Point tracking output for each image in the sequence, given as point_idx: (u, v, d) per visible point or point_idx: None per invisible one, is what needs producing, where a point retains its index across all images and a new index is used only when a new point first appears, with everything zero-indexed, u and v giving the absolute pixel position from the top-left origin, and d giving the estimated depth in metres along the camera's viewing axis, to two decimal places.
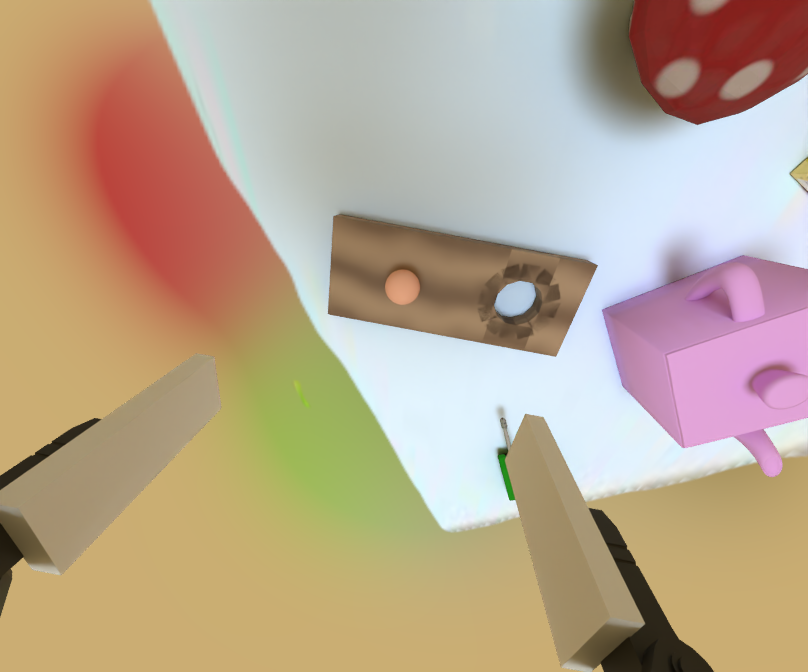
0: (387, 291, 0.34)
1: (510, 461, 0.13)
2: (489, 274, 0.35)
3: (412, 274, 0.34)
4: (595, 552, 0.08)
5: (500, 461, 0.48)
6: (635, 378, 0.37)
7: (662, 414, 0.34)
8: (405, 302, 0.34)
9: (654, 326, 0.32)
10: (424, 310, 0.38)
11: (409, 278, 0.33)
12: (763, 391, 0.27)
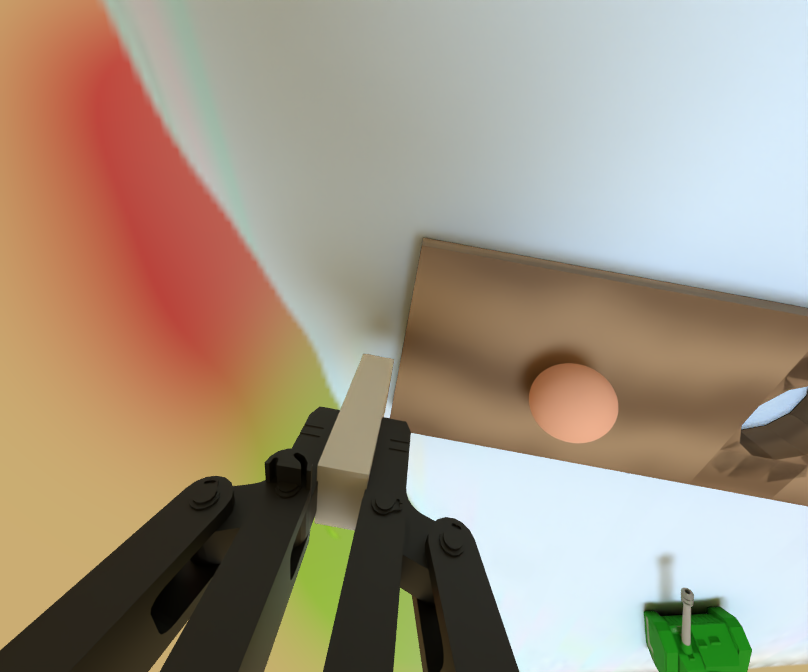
0: (545, 418, 0.15)
1: None
2: (756, 370, 0.16)
3: (606, 381, 0.14)
4: (363, 437, 0.10)
5: (661, 636, 0.29)
6: None
7: None
8: (585, 442, 0.15)
9: None
10: None
11: (607, 395, 0.14)
12: None
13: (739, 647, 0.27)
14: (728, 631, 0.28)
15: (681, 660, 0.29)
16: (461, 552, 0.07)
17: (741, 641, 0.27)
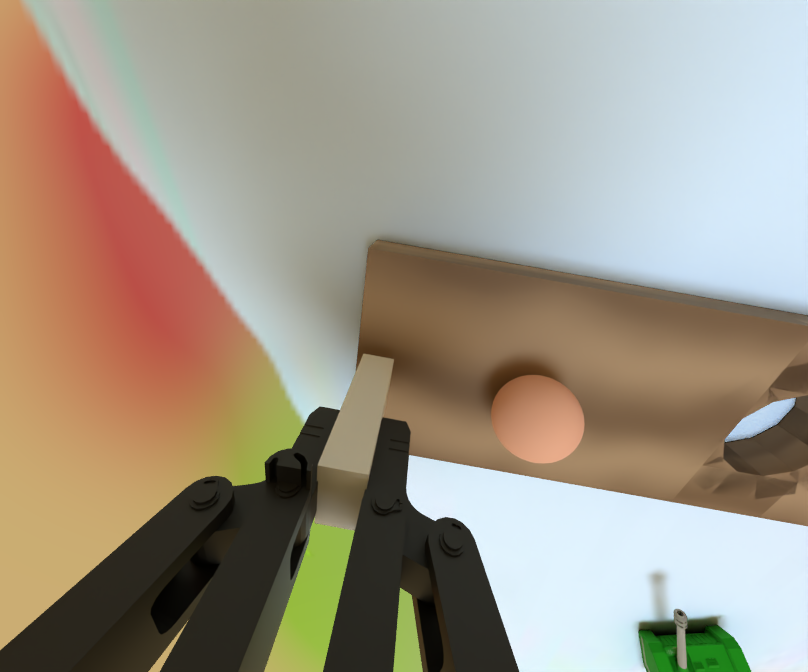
0: (505, 436, 0.13)
1: None
2: (737, 380, 0.15)
3: (570, 395, 0.13)
4: (363, 437, 0.10)
5: (656, 659, 0.27)
6: None
7: None
8: (549, 462, 0.14)
9: None
10: None
11: (570, 411, 0.13)
12: None
13: (738, 670, 0.26)
14: (727, 653, 0.26)
15: None
16: (461, 552, 0.07)
17: (740, 664, 0.26)
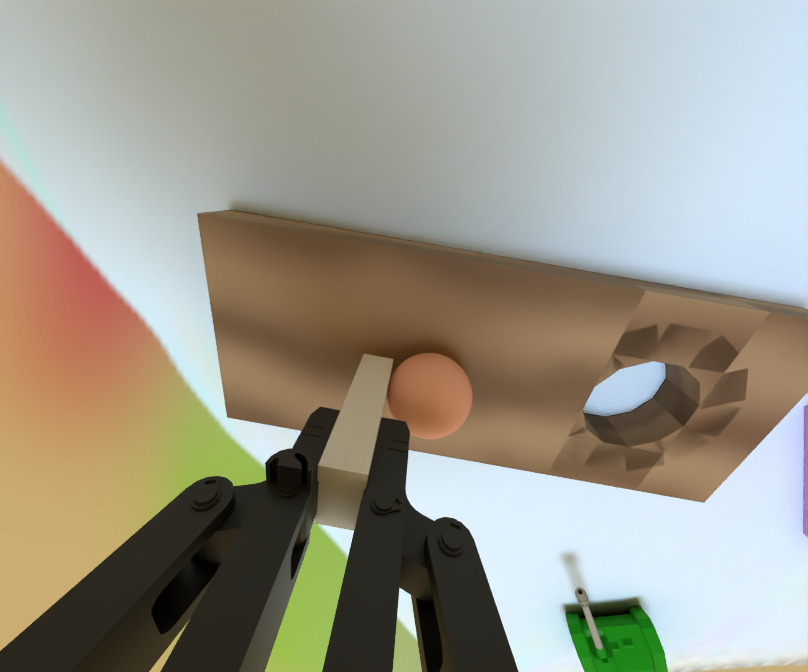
0: (440, 432, 0.13)
1: None
2: (580, 347, 0.15)
3: (449, 358, 0.14)
4: (363, 437, 0.10)
5: (575, 640, 0.27)
6: None
7: None
8: None
9: None
10: None
11: (464, 372, 0.14)
12: None
13: (652, 650, 0.26)
14: (641, 632, 0.26)
15: (595, 665, 0.27)
16: (460, 552, 0.07)
17: (653, 643, 0.26)
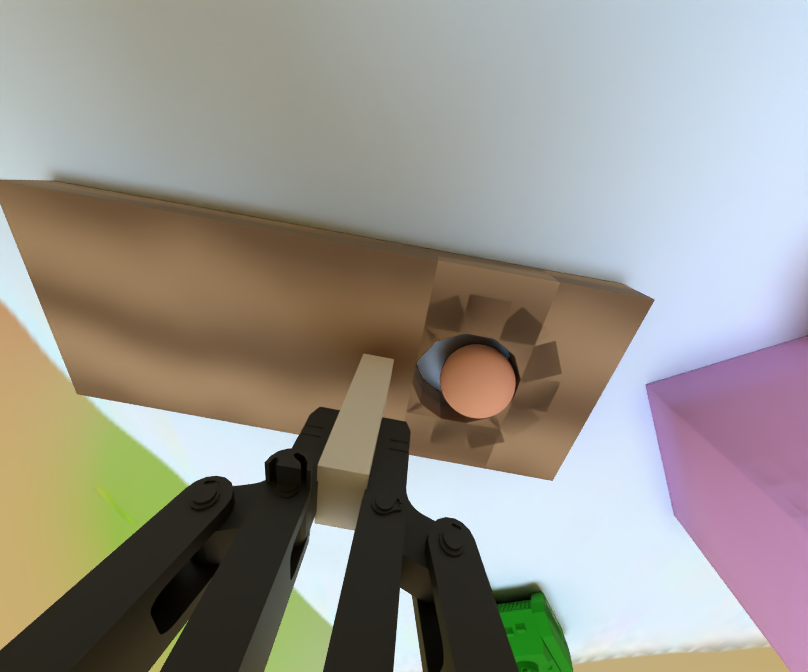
0: (476, 410, 0.15)
1: None
2: (392, 319, 0.15)
3: (499, 352, 0.16)
4: (363, 437, 0.10)
5: None
6: (720, 541, 0.17)
7: (805, 666, 0.14)
8: None
9: None
10: (265, 390, 0.17)
11: (509, 365, 0.16)
12: None
13: (541, 633, 0.26)
14: (534, 616, 0.26)
15: None
16: (461, 552, 0.07)
17: (543, 627, 0.26)
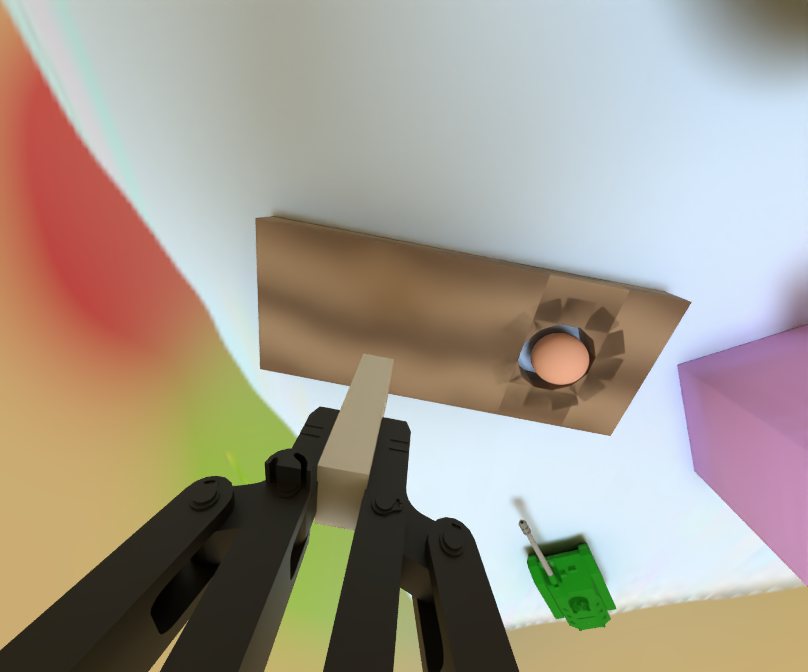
0: (560, 376, 0.22)
1: None
2: (511, 314, 0.22)
3: None
4: (363, 437, 0.10)
5: (531, 571, 0.34)
6: (734, 476, 0.24)
7: (794, 551, 0.21)
8: None
9: (797, 411, 0.18)
10: (407, 366, 0.24)
11: (585, 347, 0.22)
12: None
13: (590, 571, 0.32)
14: (582, 559, 0.33)
15: (549, 590, 0.33)
16: (461, 552, 0.07)
17: (591, 566, 0.32)
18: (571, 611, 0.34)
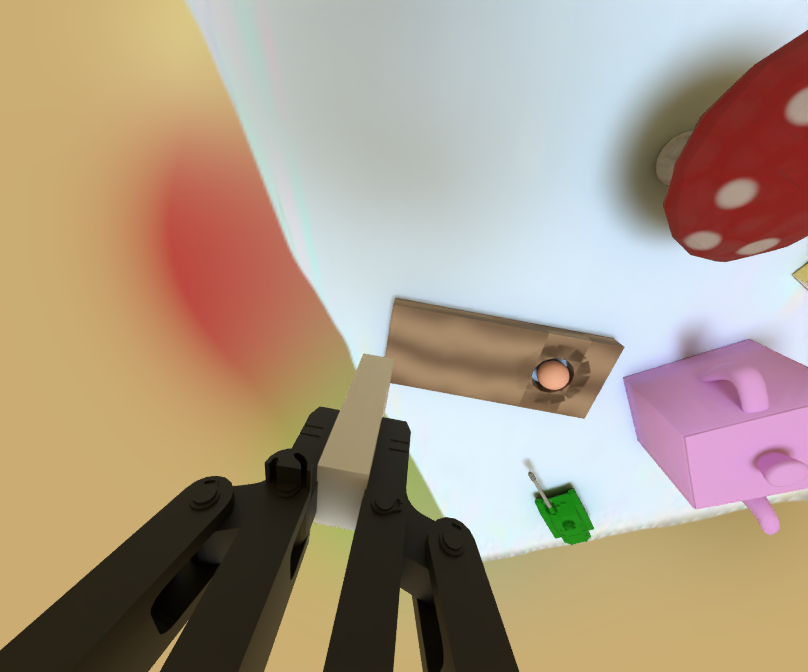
0: (552, 385, 0.40)
1: None
2: (528, 352, 0.40)
3: (563, 364, 0.41)
4: (363, 437, 0.10)
5: (538, 506, 0.53)
6: (652, 440, 0.42)
7: (676, 477, 0.39)
8: None
9: (672, 404, 0.37)
10: (468, 379, 0.43)
11: (567, 370, 0.40)
12: (766, 472, 0.32)
13: (575, 503, 0.51)
14: (570, 497, 0.51)
15: (550, 517, 0.52)
16: (461, 552, 0.07)
17: (575, 500, 0.51)
18: (564, 530, 0.53)
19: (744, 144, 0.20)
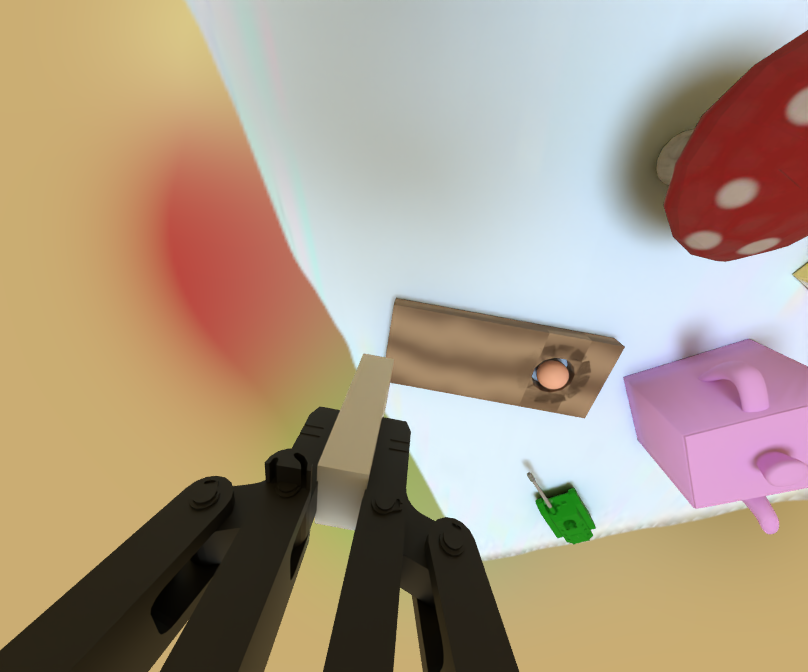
0: (550, 384, 0.40)
1: None
2: (528, 352, 0.40)
3: (563, 364, 0.41)
4: (363, 437, 0.10)
5: (538, 506, 0.53)
6: (652, 440, 0.42)
7: (676, 476, 0.39)
8: None
9: (672, 404, 0.37)
10: (468, 379, 0.43)
11: (566, 369, 0.40)
12: (766, 471, 0.32)
13: (575, 503, 0.51)
14: (570, 496, 0.51)
15: (551, 517, 0.52)
16: (461, 552, 0.07)
17: (575, 500, 0.51)
18: (566, 530, 0.53)
19: (745, 144, 0.20)
